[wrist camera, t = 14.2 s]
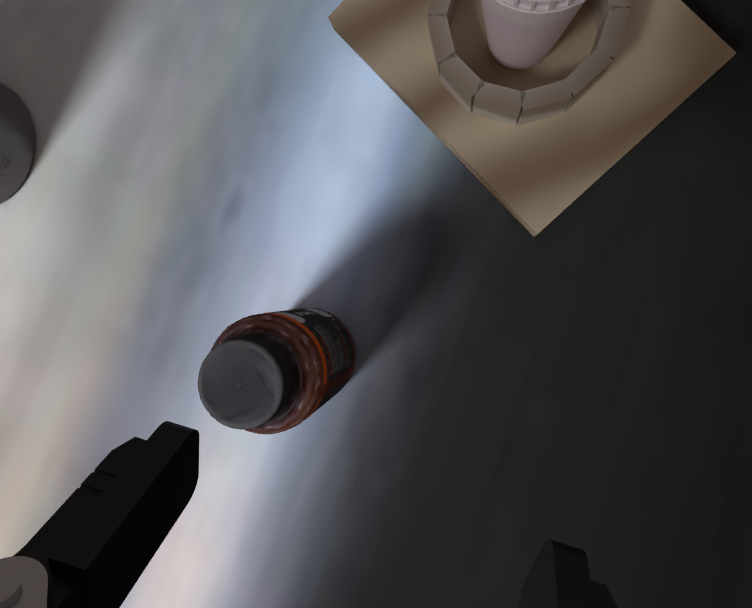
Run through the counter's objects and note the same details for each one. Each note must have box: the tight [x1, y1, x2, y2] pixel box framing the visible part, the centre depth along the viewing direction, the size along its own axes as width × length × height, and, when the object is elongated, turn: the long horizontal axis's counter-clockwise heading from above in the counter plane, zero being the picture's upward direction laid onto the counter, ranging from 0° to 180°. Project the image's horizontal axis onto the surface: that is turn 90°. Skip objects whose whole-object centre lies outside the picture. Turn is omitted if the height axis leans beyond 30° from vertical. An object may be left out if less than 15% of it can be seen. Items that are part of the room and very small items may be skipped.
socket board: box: [328, 0, 736, 236], centre depth 30 cm, size 18×14×4 cm
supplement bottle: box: [198, 308, 356, 434], centre depth 29 cm, size 6×6×11 cm
